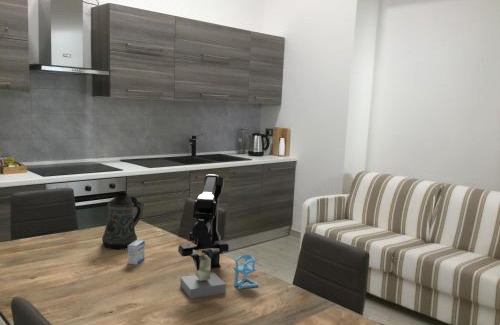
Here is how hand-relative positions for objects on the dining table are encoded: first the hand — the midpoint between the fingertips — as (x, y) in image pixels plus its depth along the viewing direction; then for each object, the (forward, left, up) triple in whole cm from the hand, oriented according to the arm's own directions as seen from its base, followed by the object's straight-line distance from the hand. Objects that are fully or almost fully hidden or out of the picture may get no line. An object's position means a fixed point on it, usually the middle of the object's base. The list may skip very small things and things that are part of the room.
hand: (203, 269), depth 169 cm
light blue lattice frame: (-17, +2, -8) cm, 19 cm away
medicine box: (+18, -37, -8) cm, 42 cm away
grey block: (0, 0, -8) cm, 8 cm away
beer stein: (+20, -63, -8) cm, 67 cm away
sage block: (0, 0, -3) cm, 3 cm away
